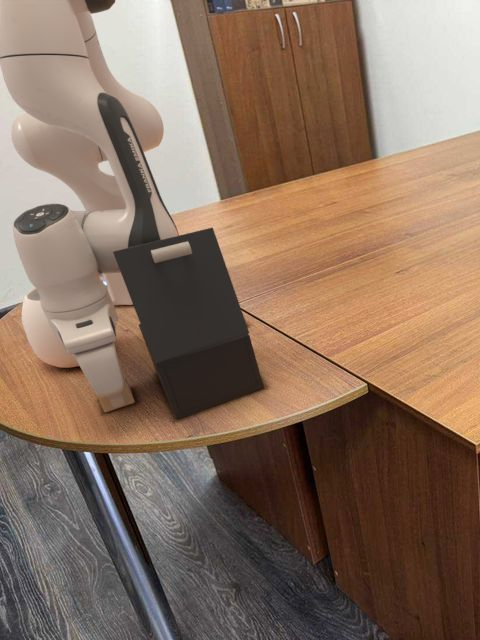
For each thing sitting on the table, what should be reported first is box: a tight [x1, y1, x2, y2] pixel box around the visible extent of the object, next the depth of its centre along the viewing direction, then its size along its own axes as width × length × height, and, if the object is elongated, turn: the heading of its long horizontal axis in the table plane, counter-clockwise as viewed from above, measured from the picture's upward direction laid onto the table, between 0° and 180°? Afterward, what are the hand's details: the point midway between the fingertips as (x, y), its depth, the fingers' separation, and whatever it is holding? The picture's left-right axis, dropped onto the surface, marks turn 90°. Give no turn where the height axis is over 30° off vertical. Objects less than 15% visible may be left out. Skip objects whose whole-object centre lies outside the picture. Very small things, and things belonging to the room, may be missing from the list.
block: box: [96, 367, 136, 413], centre depth 104 cm, size 4×4×4 cm
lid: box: [113, 227, 250, 363], centre depth 94 cm, size 17×14×5 cm
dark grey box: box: [138, 323, 265, 420], centre depth 106 cm, size 16×14×10 cm
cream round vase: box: [21, 287, 80, 369], centre depth 115 cm, size 13×13×14 cm
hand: (114, 391), depth 104 cm, fingers open, 7 cm apart
